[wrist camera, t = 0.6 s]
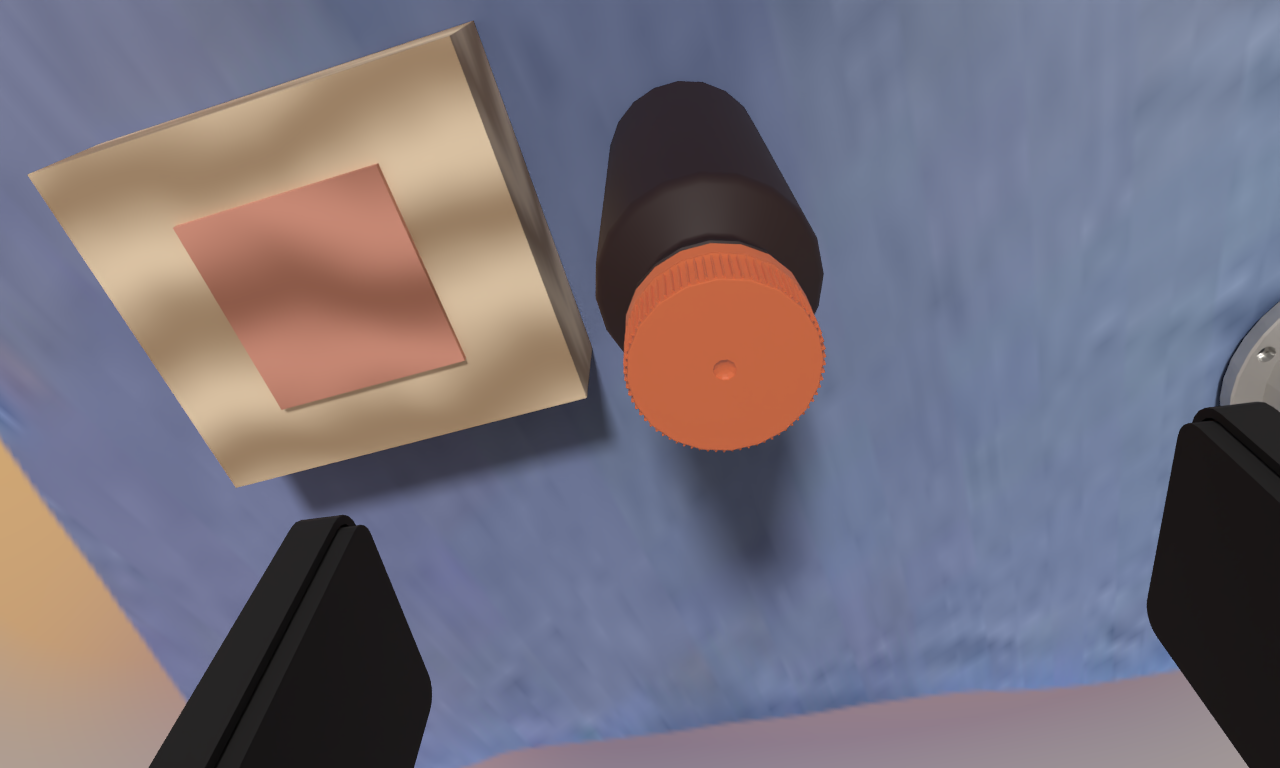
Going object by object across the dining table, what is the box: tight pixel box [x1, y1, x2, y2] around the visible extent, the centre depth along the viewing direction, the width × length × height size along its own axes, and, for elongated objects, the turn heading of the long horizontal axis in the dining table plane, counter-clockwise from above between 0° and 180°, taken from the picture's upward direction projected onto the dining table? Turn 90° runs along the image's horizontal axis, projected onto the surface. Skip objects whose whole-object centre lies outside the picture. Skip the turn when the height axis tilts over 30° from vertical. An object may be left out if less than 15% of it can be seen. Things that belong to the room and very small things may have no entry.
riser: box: [28, 21, 592, 488], centre depth 37 cm, size 16×18×5 cm
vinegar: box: [596, 81, 826, 452], centre depth 29 cm, size 7×7×20 cm
